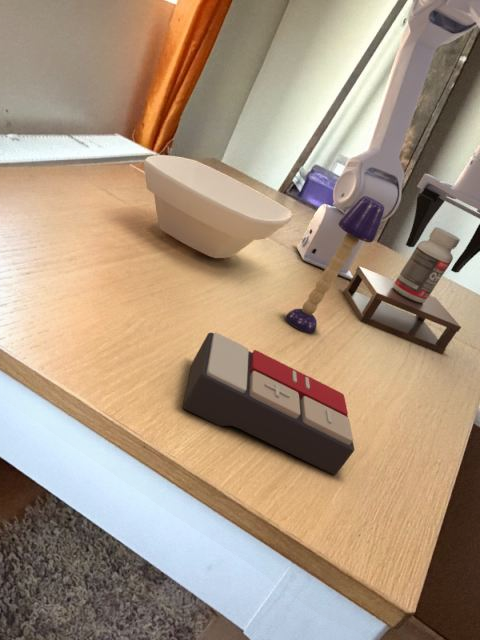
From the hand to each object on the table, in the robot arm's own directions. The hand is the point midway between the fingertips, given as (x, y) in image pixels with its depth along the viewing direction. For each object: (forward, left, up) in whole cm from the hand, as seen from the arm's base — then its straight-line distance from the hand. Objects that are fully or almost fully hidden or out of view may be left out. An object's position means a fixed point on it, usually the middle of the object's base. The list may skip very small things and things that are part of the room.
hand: (431, 258), depth 110 cm
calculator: (-29, -50, -11) cm, 59 cm away
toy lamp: (-19, -19, -11) cm, 29 cm away
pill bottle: (0, 0, -6) cm, 6 cm away
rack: (0, 0, -10) cm, 10 cm away
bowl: (-33, -1, -11) cm, 35 cm away
